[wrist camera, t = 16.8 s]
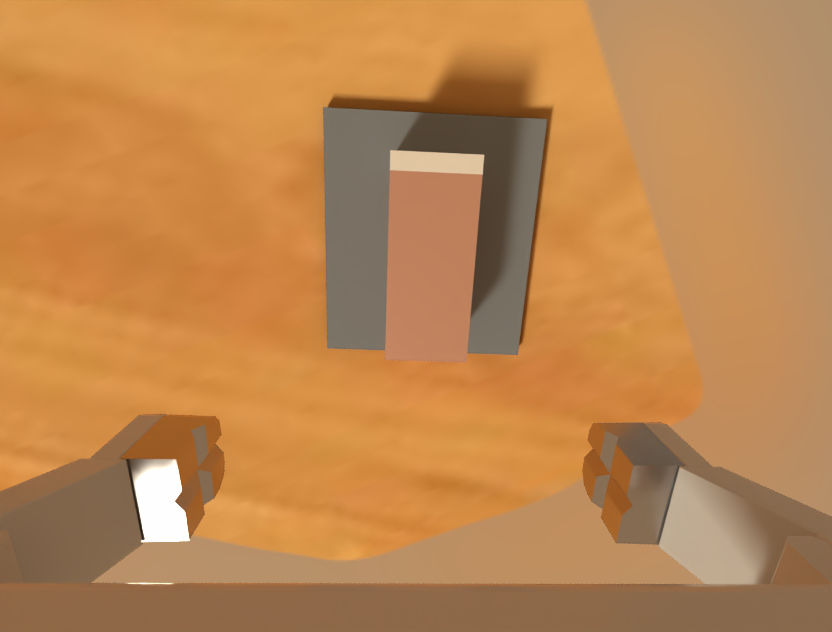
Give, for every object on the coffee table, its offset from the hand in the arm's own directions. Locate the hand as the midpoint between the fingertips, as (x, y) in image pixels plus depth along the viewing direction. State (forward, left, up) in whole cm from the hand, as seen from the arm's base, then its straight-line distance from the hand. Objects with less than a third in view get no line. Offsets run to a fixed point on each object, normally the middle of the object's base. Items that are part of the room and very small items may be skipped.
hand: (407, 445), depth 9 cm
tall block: (+1, -5, -19) cm, 19 cm away
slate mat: (+1, +2, -22) cm, 22 cm away
